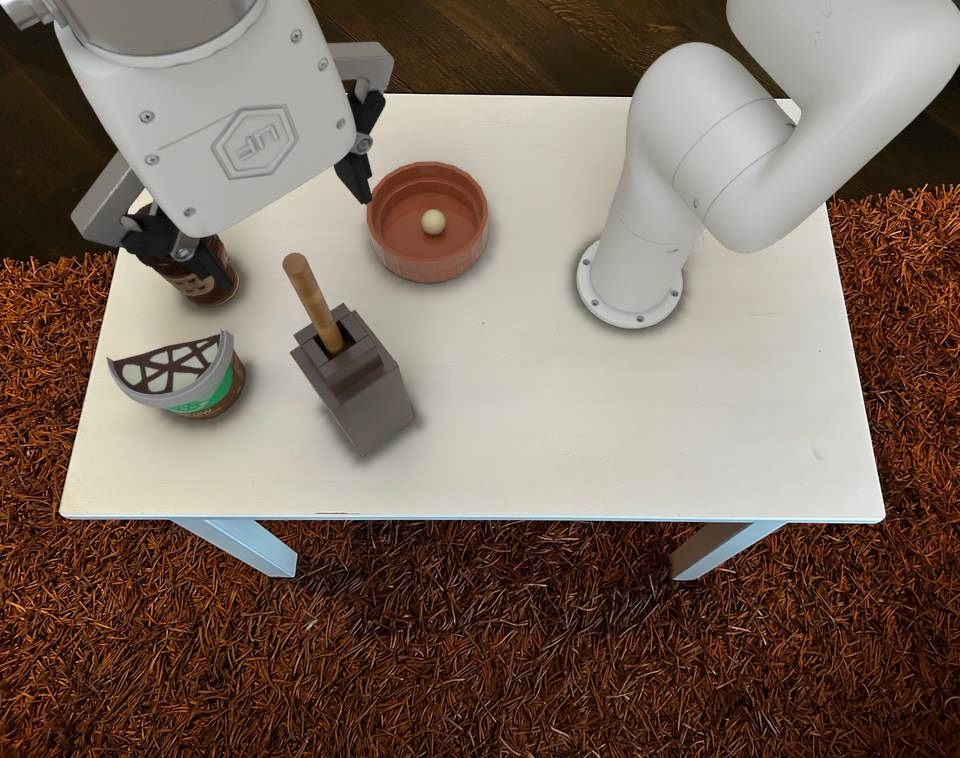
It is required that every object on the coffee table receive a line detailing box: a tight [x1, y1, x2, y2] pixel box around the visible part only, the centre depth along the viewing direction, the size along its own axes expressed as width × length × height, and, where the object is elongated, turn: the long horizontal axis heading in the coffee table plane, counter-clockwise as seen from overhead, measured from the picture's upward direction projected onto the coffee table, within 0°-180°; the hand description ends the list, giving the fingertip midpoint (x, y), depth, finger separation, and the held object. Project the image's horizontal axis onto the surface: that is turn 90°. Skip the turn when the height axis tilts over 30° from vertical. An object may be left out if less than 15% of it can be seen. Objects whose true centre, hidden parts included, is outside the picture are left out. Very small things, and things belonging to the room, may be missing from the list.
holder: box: [289, 302, 415, 458], centre depth 63 cm, size 7×7×20 cm
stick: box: [281, 252, 347, 359], centre depth 50 cm, size 2×2×16 cm
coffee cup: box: [134, 201, 240, 308], centre depth 72 cm, size 9×8×13 cm
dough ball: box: [421, 210, 446, 235], centre depth 79 cm, size 3×3×3 cm
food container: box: [105, 327, 246, 421], centre depth 68 cm, size 12×6×10 cm, turn 106°
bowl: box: [365, 160, 489, 283], centre depth 78 cm, size 14×14×5 cm
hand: (288, 229), depth 39 cm, fingers open, 9 cm apart
